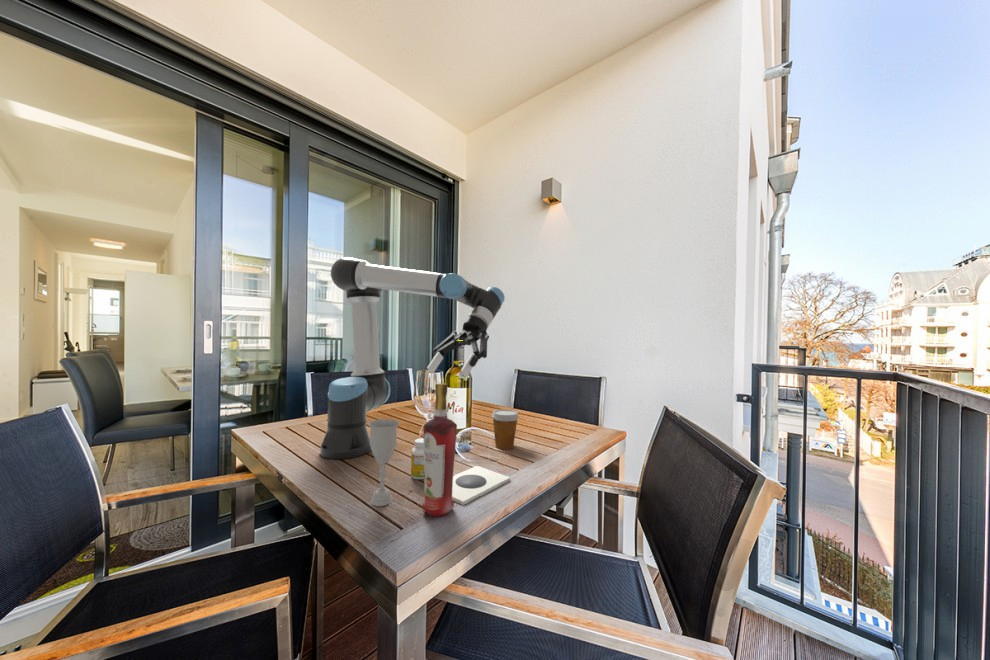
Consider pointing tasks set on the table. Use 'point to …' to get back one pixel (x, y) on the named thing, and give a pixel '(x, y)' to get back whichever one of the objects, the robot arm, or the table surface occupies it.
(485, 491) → the cream rectangular slab
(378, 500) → the chalice
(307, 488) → the table surface
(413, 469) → the supplement bottle
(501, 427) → the disposable coffee cup
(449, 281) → the robot arm
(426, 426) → the liquor
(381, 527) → the table surface
